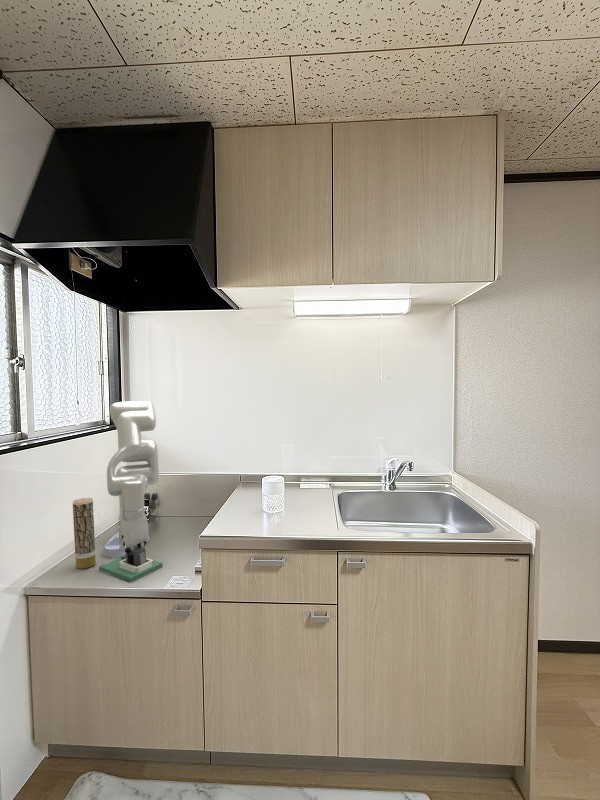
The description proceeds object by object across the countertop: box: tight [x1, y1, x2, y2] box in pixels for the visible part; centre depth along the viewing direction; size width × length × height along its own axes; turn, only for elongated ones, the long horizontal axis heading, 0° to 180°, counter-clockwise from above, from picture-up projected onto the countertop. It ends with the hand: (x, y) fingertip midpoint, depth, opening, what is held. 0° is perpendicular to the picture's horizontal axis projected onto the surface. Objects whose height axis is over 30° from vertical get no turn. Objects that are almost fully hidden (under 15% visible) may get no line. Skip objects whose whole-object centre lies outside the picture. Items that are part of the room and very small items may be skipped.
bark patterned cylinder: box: [72, 497, 97, 570], centre depth 170 cm, size 7×7×25 cm
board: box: [98, 555, 163, 583], centre depth 168 cm, size 18×14×4 cm
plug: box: [126, 545, 147, 567], centre depth 166 cm, size 7×4×6 cm, turn 59°
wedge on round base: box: [104, 531, 126, 559], centre depth 184 cm, size 9×7×13 cm
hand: (135, 561), depth 166 cm, fingers closed on plug, 2 cm apart
